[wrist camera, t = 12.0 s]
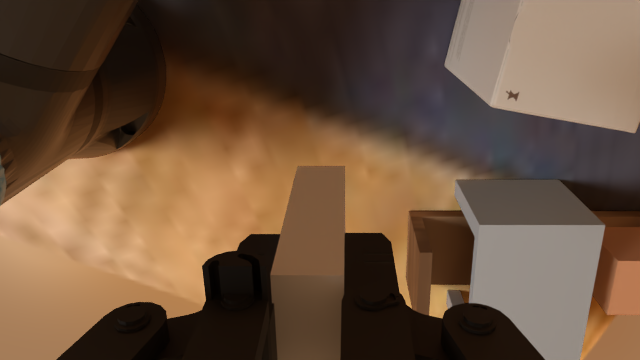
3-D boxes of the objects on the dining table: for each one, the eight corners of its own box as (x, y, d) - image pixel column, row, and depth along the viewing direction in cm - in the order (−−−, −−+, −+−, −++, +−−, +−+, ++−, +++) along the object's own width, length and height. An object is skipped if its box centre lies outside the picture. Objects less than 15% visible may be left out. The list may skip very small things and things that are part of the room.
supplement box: (546, 88, 45) (637, 140, 31) (441, 67, 44) (485, 110, 31) (586, -27, 41) (708, -27, 27) (473, -50, 41) (538, -61, 27)
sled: (406, 277, 52) (415, 327, 44) (408, 211, 49) (419, 252, 42) (652, 279, 50) (703, 330, 43) (668, 211, 48) (725, 253, 41)
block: (577, 275, 49) (607, 314, 44) (586, 227, 48) (618, 260, 42) (633, 276, 49) (670, 315, 44) (644, 227, 47) (684, 261, 42)
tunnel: (446, 303, 53) (465, 367, 44) (455, 179, 48) (479, 224, 39) (540, 304, 52) (578, 369, 44) (558, 179, 47) (605, 225, 39)
